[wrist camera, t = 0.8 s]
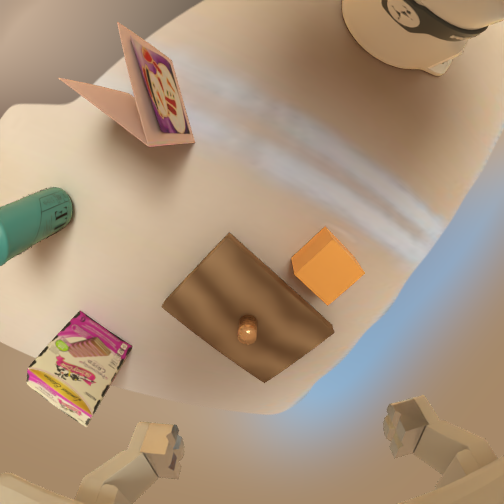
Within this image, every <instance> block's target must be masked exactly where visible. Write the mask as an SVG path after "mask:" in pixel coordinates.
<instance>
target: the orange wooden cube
mask: <svg viewBox="0 0 504 504" xmlns="http://www.w3.org/2000/svg"><path fill="white" fill-rule="evenodd" d="M291 260H292V265H293V270H294V275H295V276H296V277H297V278H299V279H300V280H301V281H302V282H303V283H304V284H305V285H306V286H307V287H308V288H309V289H310V290H311V291H313V292H314V293H315V294H316V295H317V296H318V297H319V298H320V299H321V300H322V301H323V302H324V303H325V304H326V305H329V304H330V303H331V302H333V301H334V300H335V299H336V298H337V297H339V296H340V295H341V294H342V293H343V292H344V291H346V290H347V289H348V288H349V287H350V286H351V285H352V284H354V283H355V282H356V281H357V280H358V279H359V278H360V277H361V276H363V275H364V274H365V272H364V271H363V269H362V268H361V266H360V265H359V263H358V262H357V260H356V259H355V257H354V256H353V255H352V254H351V253H350V252H349V251H348V250H347V249H346V248H345V247H344V245H343V244H342V243H341V242H340V241H339V240H338V239H337V238H336V237H335V236H334V235H333V234H332V233H331V232H330V231H329V230H328V229H327V228H326V226H325V227H324V228H323V229H322V230H321V231H320V232H318V233H317V234H316V235H315V236H314V237H313V238H312V239H311V240H310V241H309V242H308V243H307V244H306V245H305V246H304V247H302V248H301V249H300V250H299V251H298V252H297V253H296V254H295V255H294V256H293V257H292V258H291Z"/></svg>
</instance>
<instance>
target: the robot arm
mask: <svg viewBox="0 0 504 504" xmlns="http://www.w3.org/2000/svg"><path fill="white" fill-rule="evenodd" d="M342 13H343V17H344V21H345V23H346V25H347V28H348V29H349V31H350V33H351V34H352V36H353V37H354V38H355V40H356V41H357V42H358V43H359V44H360V45H361V46H362V47H363V48H364V49H365V50H366V51H367V52H368V53H370V54H371V55H372V56H374V57H375V58H377V59H379V60H380V61H382V62H384V63H386V64H389V65H391V66H394V67H398V68H403V69H421V70H424V71H426V72H428V73H430V74H433V75H435V76H441V75H443V74H444V73H445V72H446V70H447V69H448V67H449V65H450V63H451V62H452V60H453V58H454V57H457V56H459V55H461V54H462V53H463V52H464V51H463V48H464V47H465V45H466V43H467V40H468V39H469V38H473V37H475V36H477V35H479V34H480V33H481V32H483V31H485V30H486V29H487V27H488V26H489V25H491V24H494V23H497V22H500V21H503V20H504V0H342ZM441 63H442V64H441ZM387 412H388V415H387V416H386V417H385V418H384V423H383V429H384V434H385V436H386V439H388V440H389V441H391V444H390V449H391V451H392V454H393V456H394V458H398V457H402V456H405V455H408V454H412V453H413V454H414V455H415V456H417V457H418V458H419V459H421V460H422V461H424V462H425V463H427V464H428V465H429V466H431V467H432V468H434V469H435V470H437V471H438V472H439V473H441V474H442V477H441V478H440V480H439V481H438V482H437V484H436V486H435V487H436V490H434V491H431V492H429V493H426V494H423V495H421V496H418V497H415V498H413V499H410V500H407V501H404V502H401V503H397V504H504V455H503V456H501V457H500V458H497V456H496V455H495V453H494V451H493V450H492V448H491V447H490V445H489V444H488V442H487V441H486V439H485V438H482V437H480V436H478V435H476V434H474V433H471V432H469V431H467V430H465V429H462V428H460V427H458V426H456V425H454V424H452V423H449V422H447V421H445V420H441V421H440V419H439V417H438V416H437V414H436V413H435V411H434V410H433V408H432V406H431V405H430V403H429V401H428V400H427V398H426V397H425V396H424V395H421V396H418V397H414V398H410V399H406V400H403V401H399V402H395V403H392V404H389V406H388V408H387ZM178 432H179V430H178V427H177V425H173V424H161V423H151V422H141V421H140V422H139V423H138V424H137V425H136V428H135V431H134V433H133V436H132V438H131V441H130V443H129V446H128V448H127V450H123V451H122V452H120V453H119V454H117V455H116V456H114V457H113V458H112V459H110V460H109V461H107V462H106V463H104V464H103V465H101V466H100V467H98V468H97V469H96V470H94V471H92V472H91V473H89V474H88V475H86V476H85V477H84V478H83V480H82V482H81V485H80V487H79V489H78V491H77V494H76V496H75V498H74V499H71V498H68V497H65V496H62V495H60V494H57V493H55V492H52V491H50V490H48V489H45V488H43V487H40V486H38V485H36V484H34V483H32V482H29V481H27V480H25V479H23V478H21V477H19V476H17V475H15V474H13V473H10V472H6V473H2V474H0V504H133V503H134V502H135V501H136V500H137V499H138V498H139V497H140V496H141V495H142V494H143V493H144V492H145V491H146V490H147V489H148V488H149V487H150V486H151V485H152V484H153V483H154V482H155V481H156V480H157V479H158V477H160V478H171V479H179V474H180V470H181V465H180V463H179V461H180V460H181V459H182V458H183V456H184V442H183V439H182V437H181V436H179V435H178Z"/></svg>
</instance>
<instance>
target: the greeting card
mask: <svg viewBox="0 0 504 504" xmlns="http://www.w3.org/2000/svg"><path fill="white" fill-rule="evenodd" d="M117 23H118V22H117ZM118 28H119V33H120V37H121V42H122V47H123V51H124V56H125V60H126V64H127V68H128V73H129V77H130V81H131V85H132V89H133V93H134V96H135V97H133V96H132V95H130V94H129V93H125V92H121V91H117V90H113V89H109V88H105V87H101V86H97V85H92V84H88V83H83V82H78V81H73V80H68V79H63V78H59V79H60V80H61V81H63V82H64V83H66V84H67V85H68V86H69V87H71V88H72V89H73V90H75V91H76V92H77V93H79V94H80V95H81V96H83V97H84V98H85V99H87V100H88V101H89V102H91V103H92V104H93V105H95V106H96V107H97V108H99V109H100V110H101V111H102V112H104V113H105V114H106V115H108V116H109V117H110V118H112V119H113V120H114V121H116V122H117V123H118V124H119V125H121V126H122V127H123V128H125V129H126V130H127V131H129V132H130V133H131V134H132V135H134V136H135V137H136V138H138V139H139V140H140V141H141V142H143V143H144V144H145V145H147V146H148V147H154V146H164V145H175V144H187V143H195V140H194V137H193V134H192V130H191V127H190V123H189V120H188V116H187V113H186V109H185V106H184V103H183V99H182V95H181V92H180V88H179V85H178V81H177V78H176V74H175V71H174V67H173V63H172V60H171V59H169V58H168V57H167V56H165V55H164V54H163V53H161V52H160V51H159V50H157V49H156V48H155V47H153V46H152V45H150V44H149V43H148V42H146V41H145V40H143V39H142V38H140V37H139V36H138V35H136V34H135V33H133V32H132V31H130V30H129V29H128V28H126V27H125V26H123V25H122V24H120V23H118Z"/></svg>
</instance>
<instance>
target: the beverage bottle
mask: <svg viewBox="0 0 504 504" xmlns="http://www.w3.org/2000/svg"><path fill="white" fill-rule="evenodd" d="M45 189H46V190H43V189H42V191H41V190H40V192H38V193H35V194H32V195H29V196H28V195H27V197H25V196H23V198H22V199H20V200H17V201H15V202H12V203H10V204H7V205H5V206H2V207H0V266H2V265H3V264H5V263H6V262H7V261H8V260H10V259H11V258H13V257H14V256H16V255H18V254H19V255H20V254H21V252H23V253H24V251H25V250H26V249H28V248H29V247H31V248H32V246H33V245H34V244H36V243H38V242H39V241H40V242H41V240H43V239H45V238H46V237H47V238H48V237H49V236H51V234H52V235H53V233H54V234H55V233H57V232H58V231H61V229H64V228H65V226H66V225H67V224H68V223H69V221H70V219H71V217H72V203H71V200H70V198H69V196H68V194H67V193H66V192H65V191H64V190H62V189H61V188H56V187H52V188H50V187H49V189H47V188H45ZM47 238H46V239H47Z"/></svg>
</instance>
